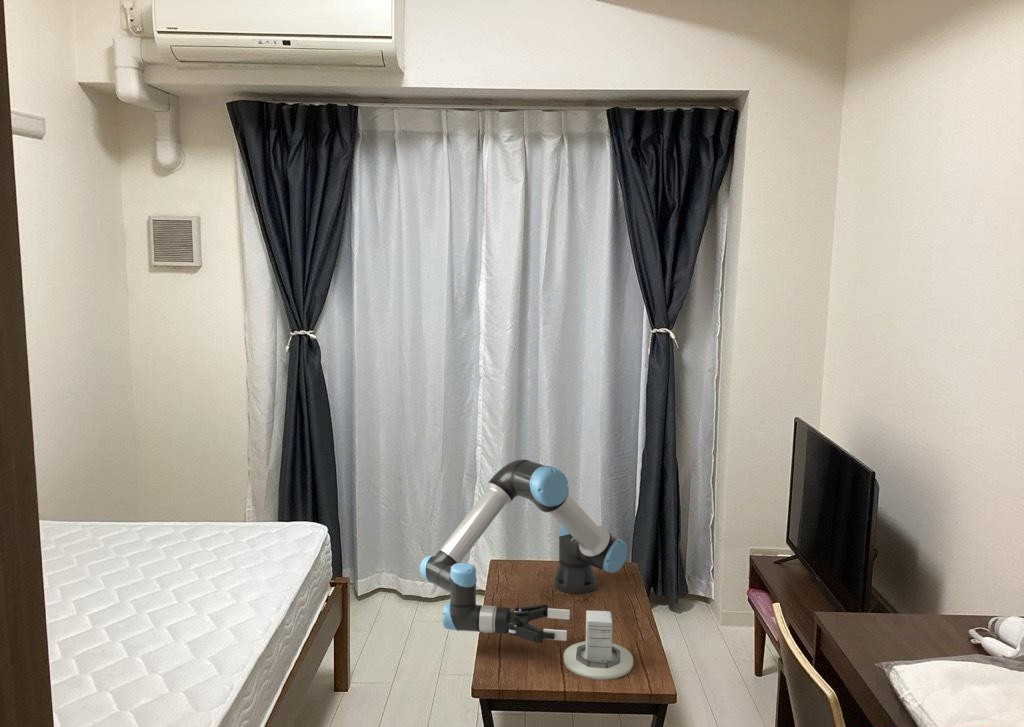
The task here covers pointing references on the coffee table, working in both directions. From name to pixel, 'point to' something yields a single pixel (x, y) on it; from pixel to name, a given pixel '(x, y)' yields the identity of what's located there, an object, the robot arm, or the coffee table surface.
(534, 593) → the coffee table surface
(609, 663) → the seat ring
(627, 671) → the plate
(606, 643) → the supplement box
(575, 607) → the coffee table surface
